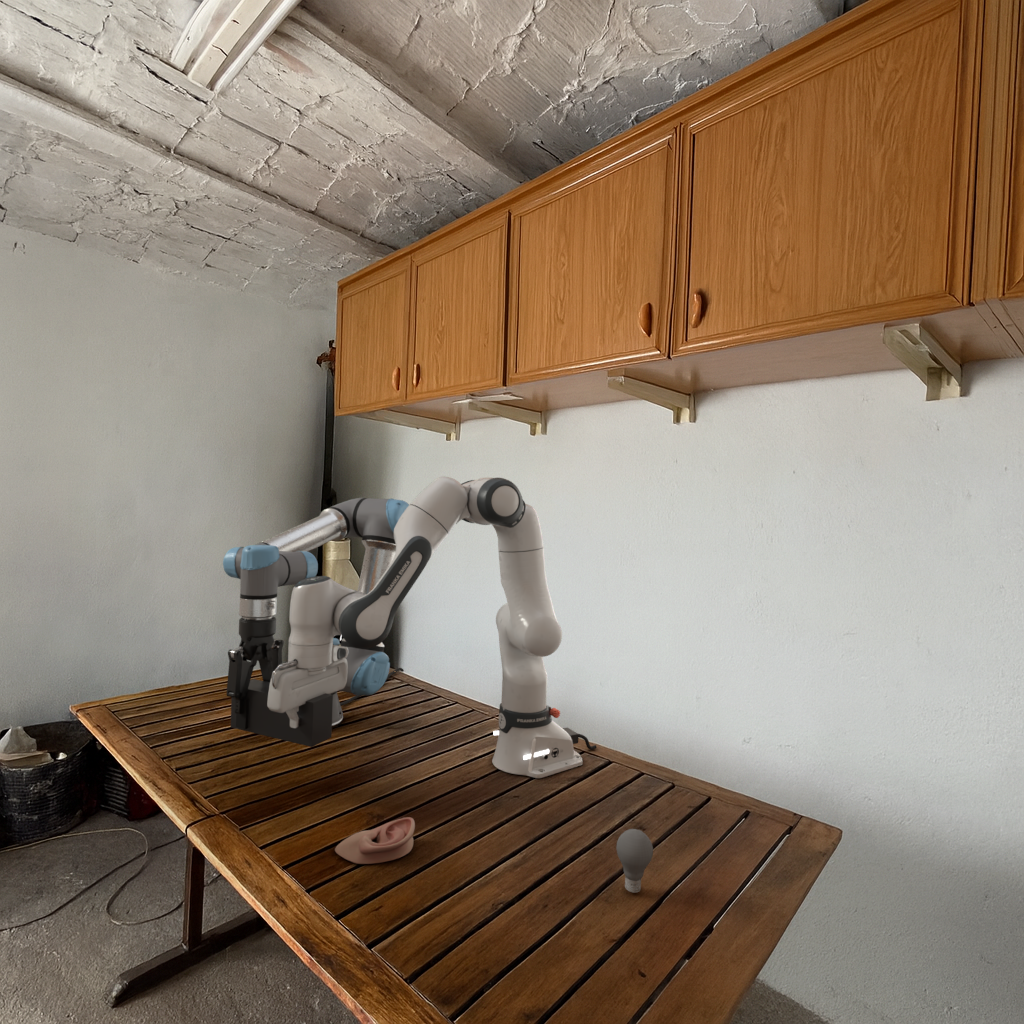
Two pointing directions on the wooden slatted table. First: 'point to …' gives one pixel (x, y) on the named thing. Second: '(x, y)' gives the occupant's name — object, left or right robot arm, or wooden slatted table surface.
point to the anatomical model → (379, 843)
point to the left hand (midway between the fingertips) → (254, 722)
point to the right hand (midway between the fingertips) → (308, 721)
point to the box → (278, 724)
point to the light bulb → (634, 857)
